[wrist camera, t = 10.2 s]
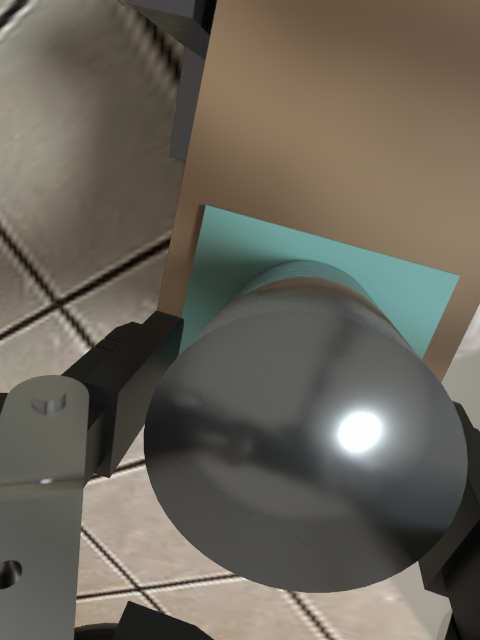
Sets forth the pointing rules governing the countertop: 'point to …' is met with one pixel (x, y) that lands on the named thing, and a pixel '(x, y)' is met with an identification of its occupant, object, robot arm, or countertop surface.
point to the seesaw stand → (194, 33)
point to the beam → (337, 160)
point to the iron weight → (305, 437)
